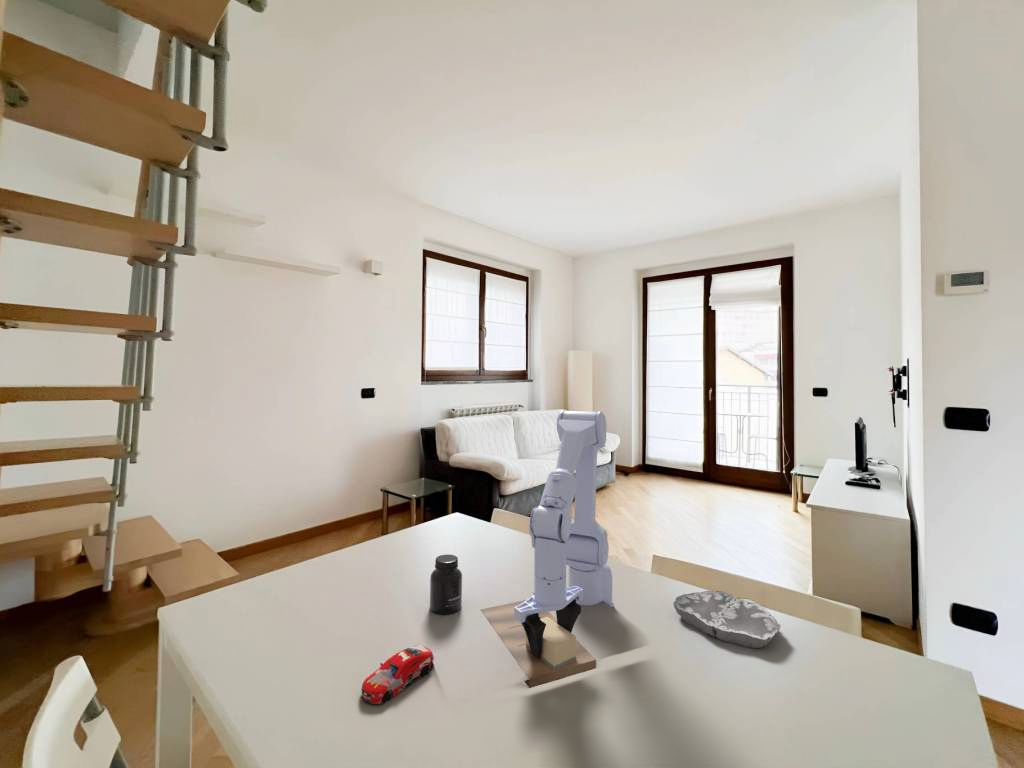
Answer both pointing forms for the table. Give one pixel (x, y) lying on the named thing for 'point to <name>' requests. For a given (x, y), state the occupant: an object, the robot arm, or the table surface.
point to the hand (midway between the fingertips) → (549, 649)
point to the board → (516, 644)
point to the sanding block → (556, 644)
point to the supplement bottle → (446, 586)
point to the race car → (397, 674)
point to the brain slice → (728, 618)
